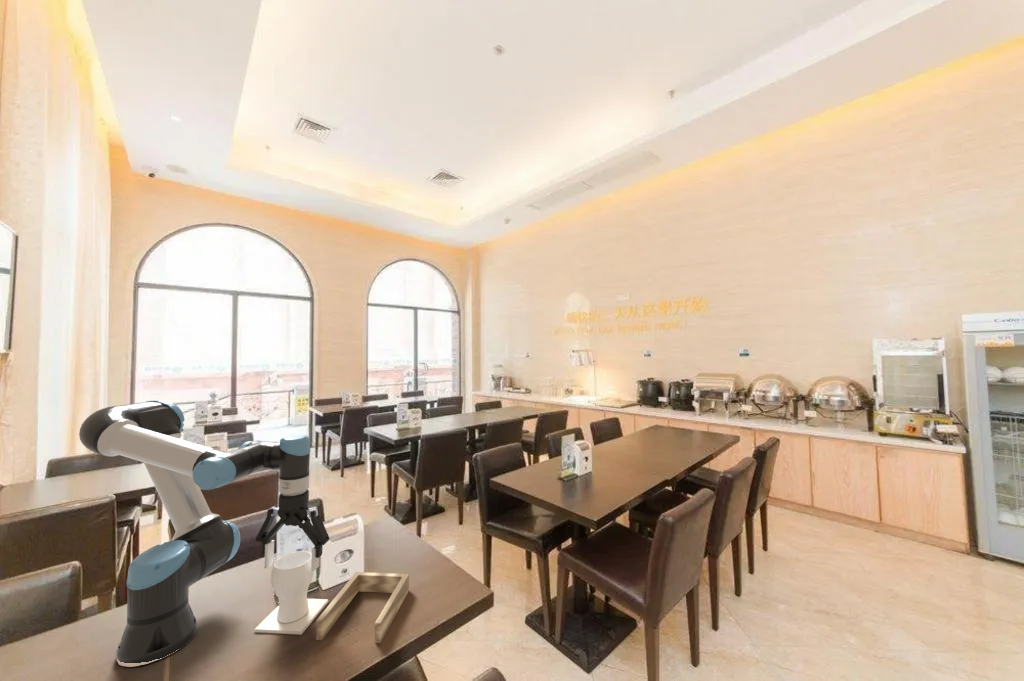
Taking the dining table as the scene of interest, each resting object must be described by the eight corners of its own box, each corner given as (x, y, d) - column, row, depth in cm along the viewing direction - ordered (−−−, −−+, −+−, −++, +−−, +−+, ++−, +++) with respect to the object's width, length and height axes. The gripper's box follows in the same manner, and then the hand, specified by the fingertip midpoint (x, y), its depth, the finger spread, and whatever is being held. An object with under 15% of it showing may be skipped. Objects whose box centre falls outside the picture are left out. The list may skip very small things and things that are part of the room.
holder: (316, 639, 100) (316, 620, 100) (355, 588, 122) (355, 572, 122) (380, 643, 99) (380, 623, 99) (408, 590, 120) (408, 574, 120)
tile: (254, 632, 103) (254, 629, 103) (286, 600, 116) (286, 597, 116) (301, 634, 102) (301, 631, 102) (328, 602, 115) (328, 599, 115)
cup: (261, 624, 105) (261, 568, 105) (291, 599, 115) (291, 548, 115) (295, 629, 103) (295, 572, 103) (322, 603, 113) (322, 551, 113)
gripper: (242, 494, 107) (239, 572, 106) (329, 498, 105) (327, 577, 105) (261, 484, 114) (259, 557, 114) (343, 488, 112) (341, 562, 112)
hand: (292, 567), depth 109 cm, fingers open, 13 cm apart
